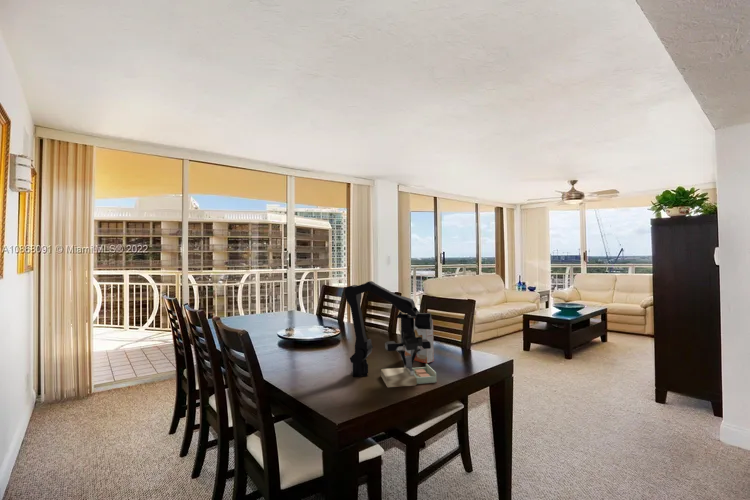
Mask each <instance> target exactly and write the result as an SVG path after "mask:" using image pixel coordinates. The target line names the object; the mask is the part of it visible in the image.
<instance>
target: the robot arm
mask: <svg viewBox="0 0 750 500" xmlns="http://www.w3.org/2000/svg"><path fill="white" fill-rule="evenodd" d="M343 291H344V292H343V294H344V297H345V300H346V302H347V304H348V306H349V307H350V311H351V318H352V323H353V329H354V335H355V343H354V353H353V354H352V355H351V356H350V357H349V360H350V363H351V376H352V377H353V378H357V377H368V375H369V374H368V373H369V362H368V360H367V359H368V358H369V355H371V354H372V351H373V348H374V347H373V344H372V338H369V339H368V337H367V335H366V334H367V333H366V329H365V323H364V319H363V312H362V307H361V302H362V294H364V293H365V292H370V293H371V294H374V295H375V296H377V297H379V298H381V299H382V300H385V301H387V302H388V303H391V304H392V305H393V306H394V307H395V308H396V309H397V310H398V311H400V312H398V314H397V315H396V316H395V319H400V342H397V343H396V342H395V340H390V341H386V342H385V343H384V347H385V350H386V351H387V352H395V351H396V352H397V353H398V354H399V355H400V357H401V361H402V363H403V367H404V366H406V361H405V347H406V349H407V350H411V359H412V366H413V364H414V361H415V360H414V359H415V356H416V354H417V352H418V351H421V349H420V346H422V347H423V348H424V349H430V348H431V343H430V342H429V341H428V340H426V339H422V337H416V336H415V332H414V319H415V327H417V328H418V329H429V330H431V329H432V320H433V318H432V313H431V312H427V313H425V312H424V313H423V312H420V311H419V310H418V308H417V307H416V303H415V301H414V299H413V298H409V297H406V296H403V295H398V294H396V293H394V292H392V291H390V290H388V289H386V288H385V287H382V285H379V284H377V283H375V282H374V281H372V280H370V281H366V282H365V283H362V284H359V285H358V284H357V285H356V284H353V285H349V286H347V287H345V289H344V290H343Z"/></svg>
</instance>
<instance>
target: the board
mask: <svg viewBox="0 0 750 500" xmlns="http://www.w3.org/2000/svg"><path fill="white" fill-rule="evenodd" d="M380 376H381V378H382V380H383V382H384V384H385V385H386V387H387V388H397V387H411V386H417V384H416V377H415V376H410V374H409V373H408V372H407V371H406V369H405V368H404V367H392V368H382V369H380Z"/></svg>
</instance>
